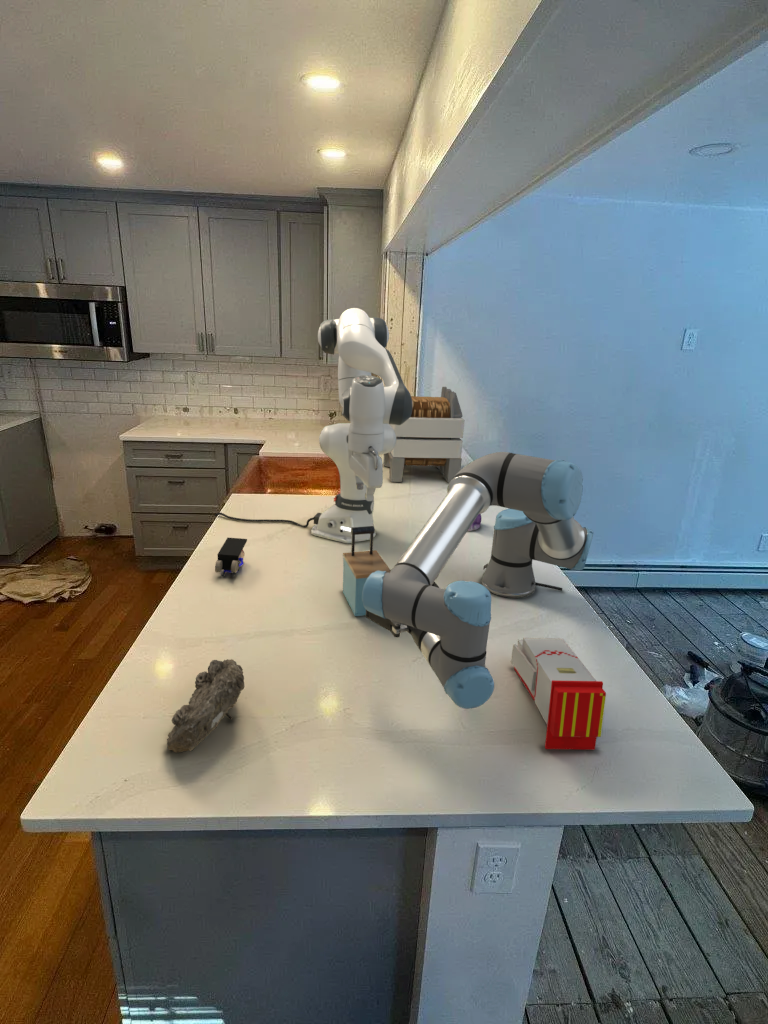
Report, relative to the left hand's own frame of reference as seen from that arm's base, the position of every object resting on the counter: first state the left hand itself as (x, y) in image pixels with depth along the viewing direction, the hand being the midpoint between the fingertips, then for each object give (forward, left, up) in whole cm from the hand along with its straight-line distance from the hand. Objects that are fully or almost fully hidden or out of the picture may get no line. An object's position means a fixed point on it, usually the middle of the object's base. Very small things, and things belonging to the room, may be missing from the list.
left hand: (364, 494), depth 148 cm
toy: (+51, -31, -29) cm, 66 cm away
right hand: (+18, -27, -11) cm, 34 cm away
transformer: (-11, +126, -29) cm, 130 cm away
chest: (+3, -4, -29) cm, 29 cm away
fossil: (-11, -57, -29) cm, 65 cm away
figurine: (+22, +63, -29) cm, 72 cm away
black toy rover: (-40, 0, -29) cm, 49 cm away
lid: (+3, -4, -18) cm, 19 cm away
